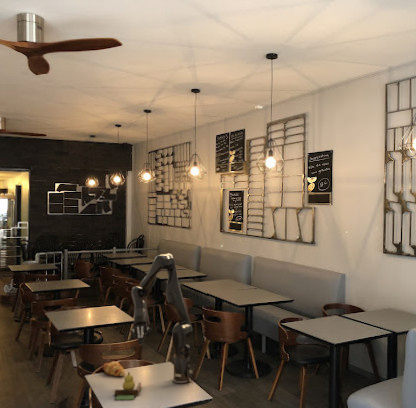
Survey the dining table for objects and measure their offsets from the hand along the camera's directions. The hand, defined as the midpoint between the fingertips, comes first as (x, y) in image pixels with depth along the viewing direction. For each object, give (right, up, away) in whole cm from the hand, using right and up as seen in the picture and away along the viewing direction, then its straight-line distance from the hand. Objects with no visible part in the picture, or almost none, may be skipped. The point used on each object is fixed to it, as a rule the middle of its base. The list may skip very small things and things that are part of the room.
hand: (140, 344), depth 269 cm
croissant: (-18, -20, +7) cm, 28 cm away
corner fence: (-3, -19, -20) cm, 28 cm away
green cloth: (-2, -19, -28) cm, 34 cm away
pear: (-2, -19, -20) cm, 28 cm away
